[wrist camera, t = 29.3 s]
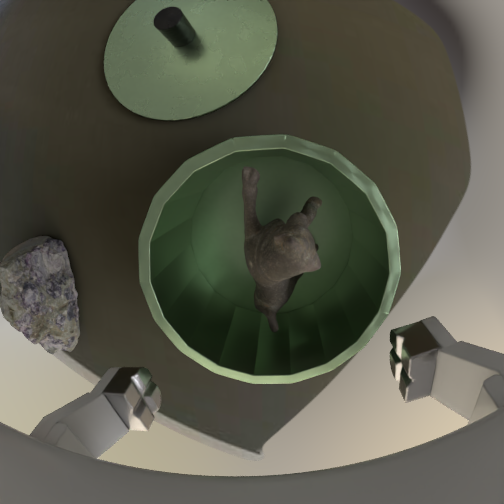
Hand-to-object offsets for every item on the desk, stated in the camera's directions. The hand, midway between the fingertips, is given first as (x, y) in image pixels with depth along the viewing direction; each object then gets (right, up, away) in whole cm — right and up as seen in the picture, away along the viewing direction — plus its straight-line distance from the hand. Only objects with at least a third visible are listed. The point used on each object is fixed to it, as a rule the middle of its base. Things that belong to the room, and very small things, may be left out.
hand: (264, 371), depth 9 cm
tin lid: (-6, +23, +11) cm, 26 cm away
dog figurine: (+2, +7, +12) cm, 14 cm away
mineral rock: (-24, 0, +21) cm, 32 cm away
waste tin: (+1, +5, +17) cm, 17 cm away
